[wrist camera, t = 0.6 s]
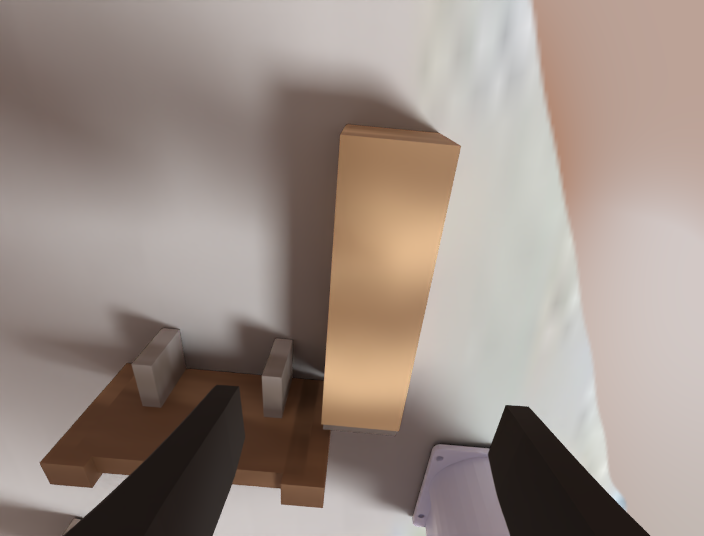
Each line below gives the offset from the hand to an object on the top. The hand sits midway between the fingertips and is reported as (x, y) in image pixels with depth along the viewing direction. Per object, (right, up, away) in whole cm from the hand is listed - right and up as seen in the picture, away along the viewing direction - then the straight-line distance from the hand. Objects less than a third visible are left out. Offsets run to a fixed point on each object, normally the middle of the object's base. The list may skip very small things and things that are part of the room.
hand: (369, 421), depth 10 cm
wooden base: (-8, -2, +12) cm, 14 cm away
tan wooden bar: (+1, +4, +9) cm, 10 cm away
